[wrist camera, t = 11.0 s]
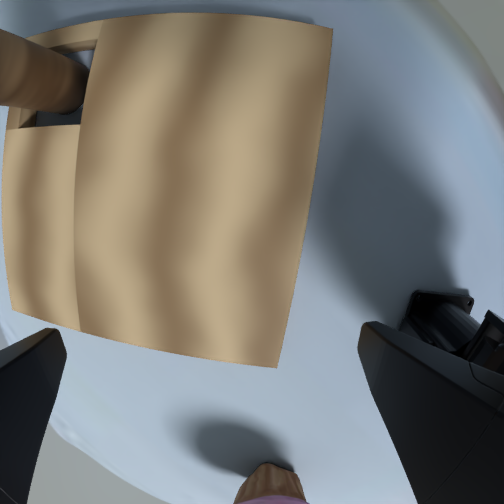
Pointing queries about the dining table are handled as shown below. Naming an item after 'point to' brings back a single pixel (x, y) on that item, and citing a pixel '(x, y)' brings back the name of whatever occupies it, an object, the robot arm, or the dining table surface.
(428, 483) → the robot arm
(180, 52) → the stool top
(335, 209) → the dining table surface
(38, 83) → the stool leg
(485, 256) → the dining table surface
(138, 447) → the dining table surface
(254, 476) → the cupcake
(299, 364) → the dining table surface
